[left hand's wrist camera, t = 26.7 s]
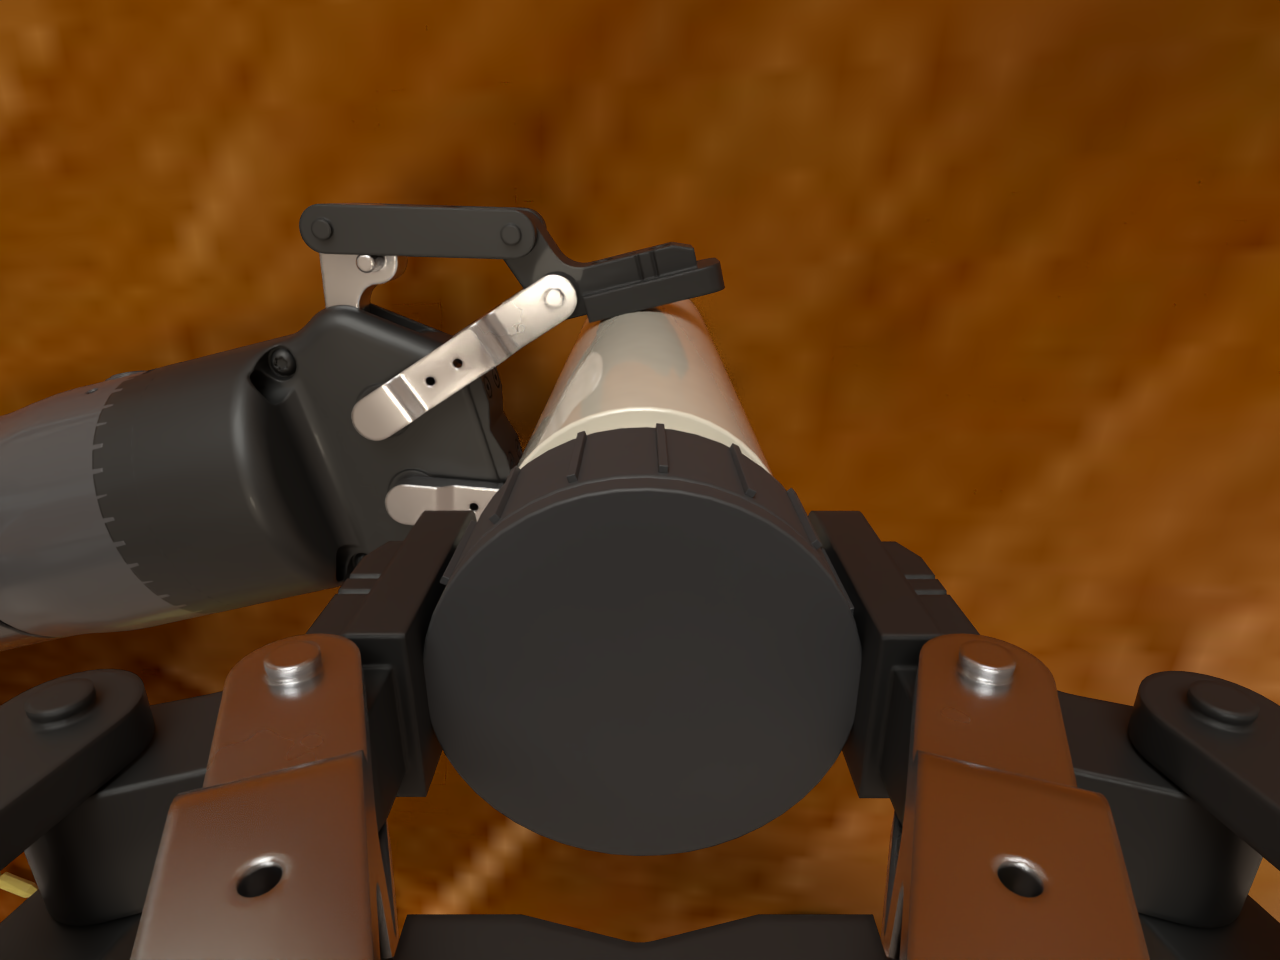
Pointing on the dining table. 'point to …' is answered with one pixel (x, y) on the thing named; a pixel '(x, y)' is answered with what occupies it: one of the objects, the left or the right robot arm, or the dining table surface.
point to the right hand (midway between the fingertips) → (734, 365)
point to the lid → (642, 646)
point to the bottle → (645, 383)
